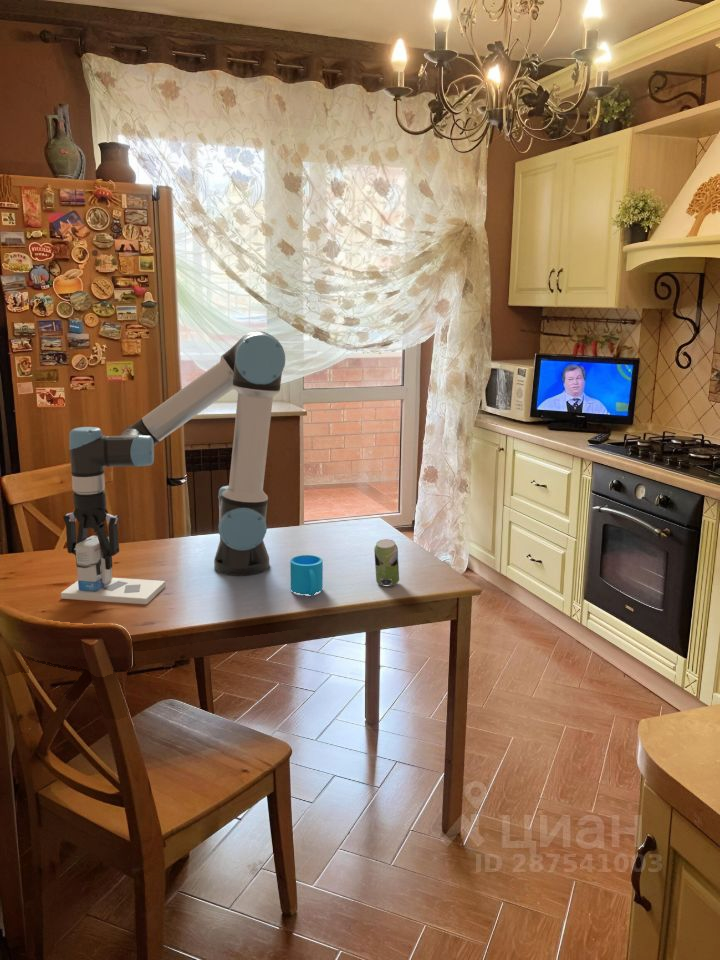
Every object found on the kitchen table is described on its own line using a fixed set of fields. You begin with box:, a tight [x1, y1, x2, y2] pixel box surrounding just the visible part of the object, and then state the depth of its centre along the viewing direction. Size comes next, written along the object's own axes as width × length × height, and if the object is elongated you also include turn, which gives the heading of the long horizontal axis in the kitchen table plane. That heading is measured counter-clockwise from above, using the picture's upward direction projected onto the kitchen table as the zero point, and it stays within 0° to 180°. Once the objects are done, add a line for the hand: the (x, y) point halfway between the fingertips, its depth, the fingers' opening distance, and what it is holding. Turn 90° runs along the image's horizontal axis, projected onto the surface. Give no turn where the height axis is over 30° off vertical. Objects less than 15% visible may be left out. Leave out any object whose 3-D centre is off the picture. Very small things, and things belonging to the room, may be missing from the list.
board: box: [60, 577, 167, 605], centre depth 191 cm, size 22×12×2 cm, turn 82°
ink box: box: [75, 535, 113, 591], centre depth 190 cm, size 8×5×12 cm, turn 169°
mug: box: [289, 554, 324, 596], centre depth 192 cm, size 12×8×8 cm
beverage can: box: [373, 539, 400, 586], centre depth 197 cm, size 6×7×12 cm
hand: (95, 580), depth 191 cm, fingers closed on ink box, 5 cm apart
